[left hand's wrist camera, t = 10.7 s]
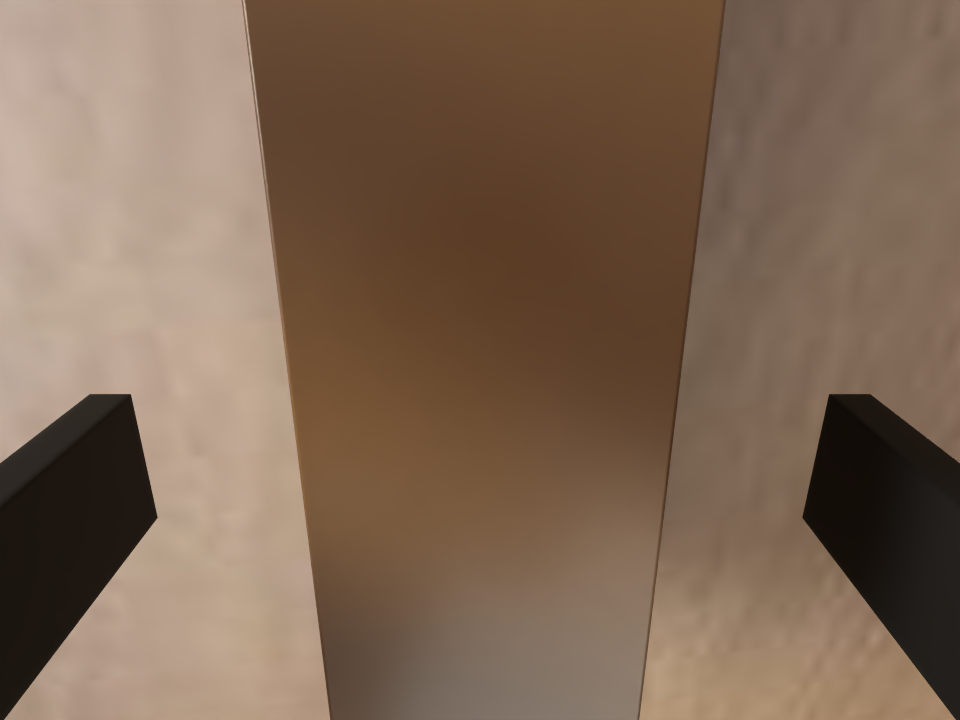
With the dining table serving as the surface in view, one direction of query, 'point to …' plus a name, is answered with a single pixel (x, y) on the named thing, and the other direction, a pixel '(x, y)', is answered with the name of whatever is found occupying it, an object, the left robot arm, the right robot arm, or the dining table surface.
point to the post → (484, 333)
